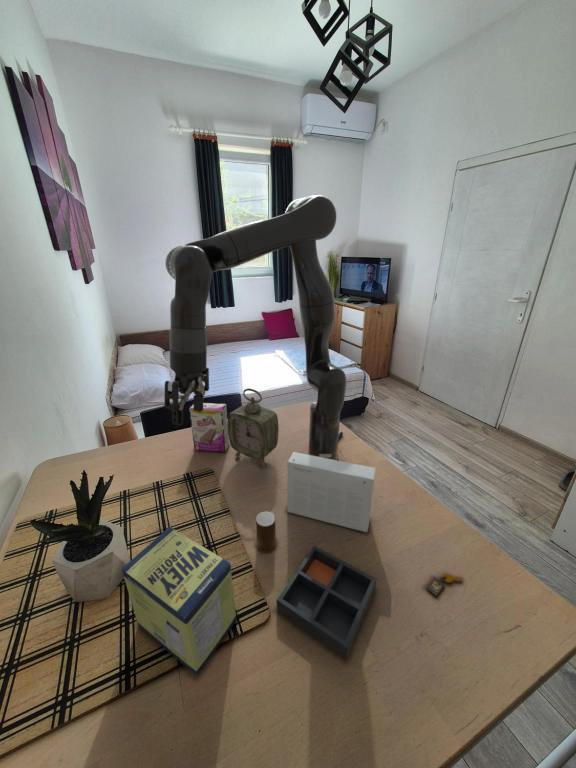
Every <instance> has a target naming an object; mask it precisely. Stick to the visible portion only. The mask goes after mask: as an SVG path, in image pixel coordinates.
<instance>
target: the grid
mask: <svg viewBox="0 0 576 768" xmlns="http://www.w3.org/2000/svg"><path fill="white" fill-rule="evenodd" d="M377 581H378V580H377V578H376V577H374V576H372V575H370V574H368V573H367V572H364V571H362V570H360V569H359V568H357V567H355V566H353V565H351V564H350V563H347V562H346V561H344V560H341V559H340V558H338V557H336V556H335V555H333V554H331V553H329V552H328V551H326V550H323V549H321V548H319V547H317V546H316V545H313V546H312V547H311V549H310V550H309V552H308V553H307V554H306V556H305V557H304V559H303V560H302V562H301V564H300V565H299V567H298V568H297V569H296V571H295V572H294V574H293V575H292V577H291V578H290V579H289V581H288V583H287V584H286V585H285V587H284V588H283V590H282V591H281V593H280V595H279V596H278V597H277V599H276V612H277V613H278V614H280V615H281V616H282V617H284V618H285V619H287V620H288V621H290V622H291V623H293V624H294V625H295V626H297V627H298V628H300V629H301V630H303V631H304V632H305V633H307V634H308V635H310V636H311V637H312V638H314V639H316V640H317V641H318V642H320V644H323V645H324V646H325V647H327V648H328V649H329V650H331V651H333V652H334V653H335V654H337V655H339V657H341V658H343V659H344V660H347V659H348V656H349V654H350V651H351V649H352V647H353V644H354V642H355V640H356V637H357V635H358V632H359V630H360V627H361V625H362V623H363V620H364V617H365V615H366V613H367V611H368V608H369V605H370V603H371V600H372V599H373V596H374V593H375V591H376V585H377Z"/></svg>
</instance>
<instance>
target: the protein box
mask: <svg viewBox="0 0 576 768" xmlns="http://www.w3.org/2000/svg"><path fill="white" fill-rule="evenodd" d="M231 565H232V564H231V562H229V561H228V560H227V559H225V558H223V557H221V556H220V555H218V554H216V553H214V552H213V551H211V550H209V549H208V548H206V547H204V546H202V545H201V544H200V543H197V542H196V541H194V540H192V539H191V538H189V537H187V536H186V535H184V534H182V533H181V532H179V531H177V530H176V529H174V528H173V527H170V526H169V527H167V528H166V529H165V530H164V531H163V532H162V533H161V534H160V535H158V536H157V537H155V539H154V540H153V541H152V542H150V543H149V544H148V545H146V547H145V548H143V549H142V550H141V551H140V552H139V553H138V554H136V555H135V556H134V557H133V558H132V559H131V560H130V561H128V562H127V563H126V564H125V565H124V566H122V567H121V571H122V576H123V579H124V583H125V586H126V590H127V592H128V597H129V599H130V602H131V606H132V609H133V613H134V617H135V619H136V622H137V626H138V628H140V629H141V630H142V631H143V632H145V633H146V634H147V635H148V636H149V637H150V638H151V639H153V641H155V642H156V643H157V644H158V645H160V646H161V647H162V648H163V649H165V650H166V651H167V652H168V653H169V654H170V655H171V656H173V657H174V658H175V659H176V660H177V661H178V662H180V663H181V664H182V665H183V666H184V667H185V668H186V669H188V670H189V671H190V672H191V673H192V674H194V675H195V676H197V677H198V676H199V674H200V673H201V672H202V670H203V669H204V668H205V666H206V665H207V663H208V662H209V661H210V659H211V658H212V656H213V654H215V652H216V650H217V649H218V648H219V646H220V645H221V643H222V642H223V640H224V639H225V638H226V636H227V634H228V633H229V632H230V630H231V629H232V628H233V626H234V625H235V623H236V621H237V619H238V618H237V613H236V612H237V611H236V604H235V595H234V594H235V593H234V584H233V575H232V574H233V573H232V566H231Z"/></svg>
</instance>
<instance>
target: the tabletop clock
mask: <svg viewBox="0 0 576 768" xmlns="http://www.w3.org/2000/svg"><path fill="white" fill-rule="evenodd" d="M248 391H249V392H252V393H255V394H257V395H258V396H259V398H260V399H259V400H255V397H254V396H251V397H250V398H249V397H248V396H246V394H245V393H246V392H248ZM242 395H243V397H244V399H246V400H247V401H249V402H247V403H245V404H242V405H240V406H239V407H238V408H236V409H234V410H233V411H231V412H230V413H228V415H227V423H228V436H229V445H230V447H231V448H232V449H233V450H234V451H236V452H235V457H237V458H239V457H240V456H241V455H243V456H246V457H249V458H252V459H255V460H259V461H260V460H261V461H262V463H261V467H262V468H264V469H265V468H266V467H267V466H268V465H267V463H266V462H265V459H266V457H267V456H268V455H269V454H271V452H272V451H274V450H275V449H276V448H277V446H278V443H279V431H280V428H279V418H278V414H277V413H276V412H275V411H274V410H272V409H269V408H267V407H264V406H262V405H261V404H260V402H262V400H263V397H262V394H261V393H260V392H259V391H258V390H256V389H253V388H249V387H248V388H244V390H243V392H242Z"/></svg>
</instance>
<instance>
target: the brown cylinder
mask: <svg viewBox="0 0 576 768" xmlns="http://www.w3.org/2000/svg"><path fill="white" fill-rule="evenodd" d="M255 528H256V529H255V531H256V546H257V549H258V550H259V551H261V552H263V553H269V552H272V551H273V550H274V549H275V548H276V546H277V543H276V542H277V534H276V533H277V531H276V529H277V528H276V515H275V514H274V513H273V512H271V511H261V512H259V513H258V514H257V515H256V517H255Z"/></svg>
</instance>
